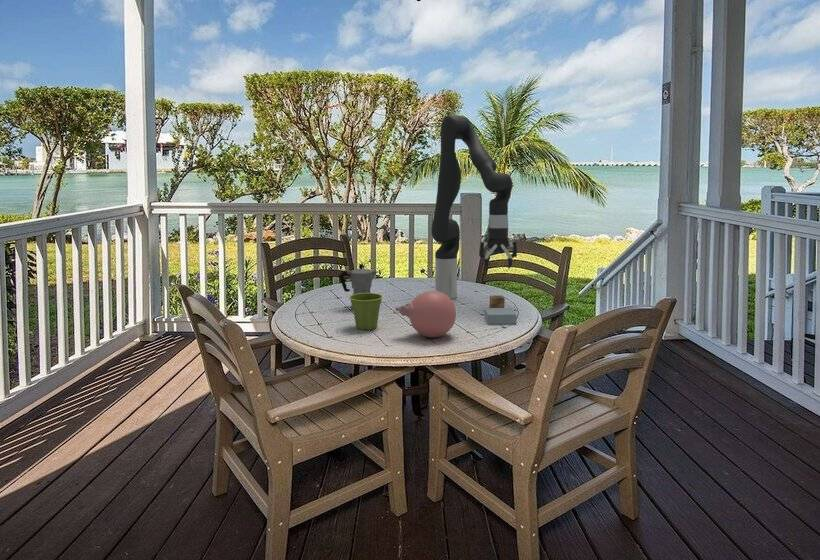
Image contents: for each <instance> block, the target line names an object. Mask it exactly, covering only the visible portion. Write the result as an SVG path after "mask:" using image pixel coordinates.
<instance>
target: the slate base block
mask: <svg viewBox="0 0 820 560" xmlns="http://www.w3.org/2000/svg"><path fill="white" fill-rule="evenodd" d="M485 319H486V320H485ZM484 320H485V321H486V324H487V325H488V326H495V325H496V326H498V325H499V326H501V325H504V326H505V325H507V326H508V325H510V326H511V325H515V326H516V325H517V314H516V312H515V310H514V309H513V308H512V307H504V308H490V307H486V308H484Z"/></svg>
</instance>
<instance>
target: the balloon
mask: <svg viewBox="0 0 820 560" xmlns="http://www.w3.org/2000/svg"><path fill="white" fill-rule="evenodd" d="M394 309H395V311H396V312H399V313H398V314H400V315H401V316H406V317H407V318H408V319H409V320H410V324H411V326H412V327H413V329H414V330H415V331H416V332H417V333H418V334H420V335H421V336H423V337H426V338H440V337H442V336H445V335H446V334H447V333H448V332H449V331H450V330H451V329H452V328H453V326H454V325H455V322H456V320H457V310H456V306H455V304H454V302H453V299H450V298H449V297H448V296H447V295H446V294H444V293H442V292H439V291H435V290H428V291H423V292H421V293H420V294H418V295H417V296H416V297H414V299H412V300H411V301H410V302H407V303H405V304H404V305H401V306H398V307H395V308H394Z"/></svg>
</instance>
